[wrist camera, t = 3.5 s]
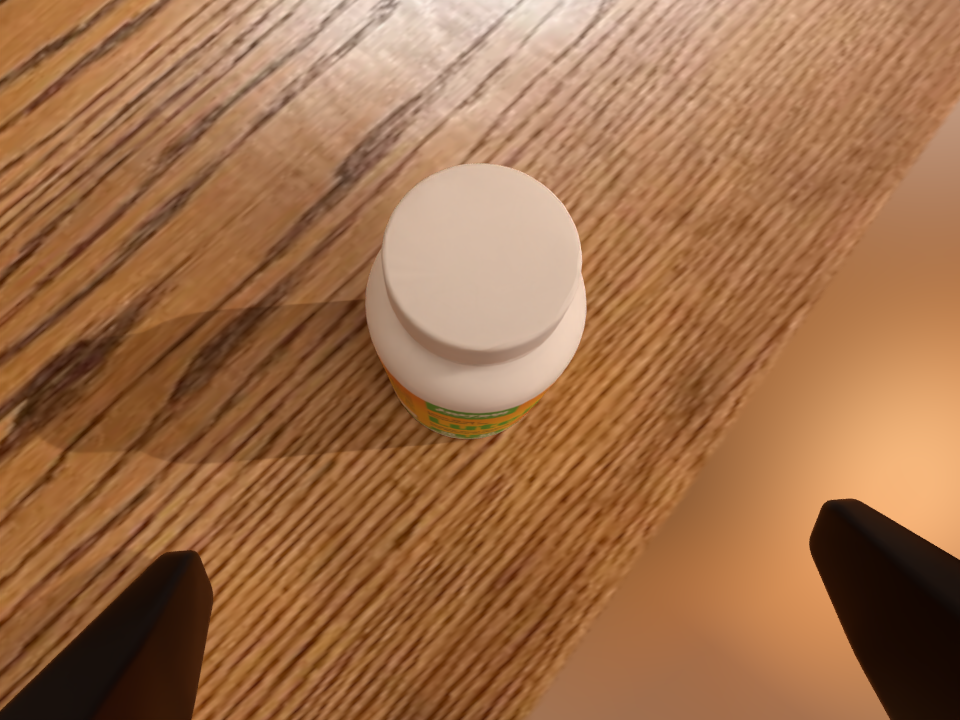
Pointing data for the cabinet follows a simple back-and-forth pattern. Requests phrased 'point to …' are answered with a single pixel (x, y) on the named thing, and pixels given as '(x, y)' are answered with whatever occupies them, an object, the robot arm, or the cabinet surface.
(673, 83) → the cabinet surface
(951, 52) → the cabinet surface
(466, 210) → the supplement bottle
